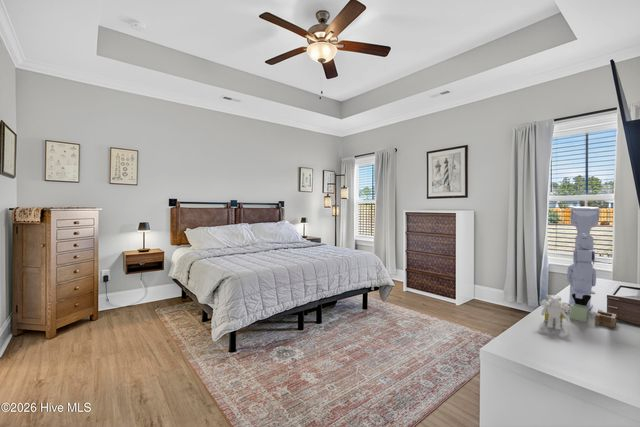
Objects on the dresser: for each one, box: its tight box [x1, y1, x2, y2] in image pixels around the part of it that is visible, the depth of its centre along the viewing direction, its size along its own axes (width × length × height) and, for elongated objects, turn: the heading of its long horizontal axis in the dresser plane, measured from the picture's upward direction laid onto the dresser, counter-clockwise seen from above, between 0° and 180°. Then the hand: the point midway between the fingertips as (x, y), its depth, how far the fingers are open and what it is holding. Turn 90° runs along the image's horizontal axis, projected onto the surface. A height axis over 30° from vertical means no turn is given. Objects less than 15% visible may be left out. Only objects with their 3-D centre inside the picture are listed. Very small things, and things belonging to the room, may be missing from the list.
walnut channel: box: [561, 302, 617, 328], centre depth 122 cm, size 10×16×4 cm, turn 43°
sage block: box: [569, 303, 590, 323], centre depth 122 cm, size 5×5×5 cm
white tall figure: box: [544, 294, 564, 325], centre depth 118 cm, size 5×5×10 cm
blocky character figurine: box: [539, 293, 571, 331], centre depth 112 cm, size 9×4×12 cm, turn 43°
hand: (580, 312), depth 125 cm, fingers closed
